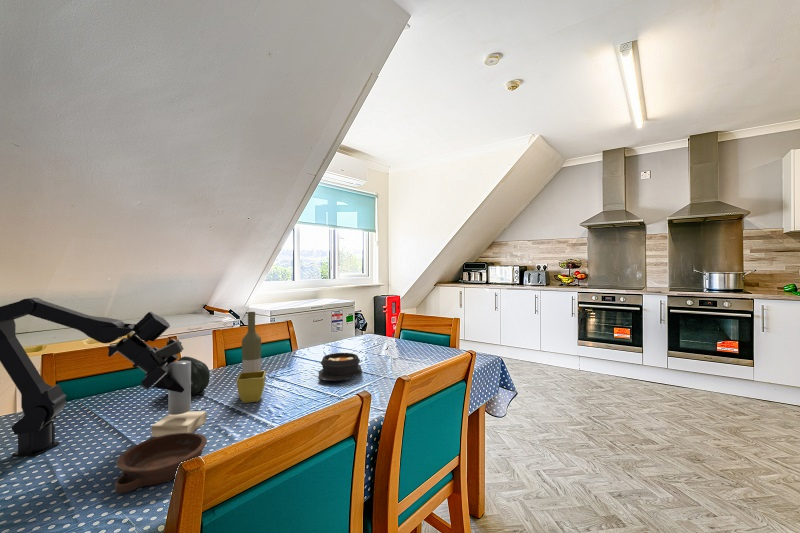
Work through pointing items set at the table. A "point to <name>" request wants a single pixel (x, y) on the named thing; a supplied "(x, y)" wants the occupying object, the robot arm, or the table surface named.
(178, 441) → the dish
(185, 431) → the base block
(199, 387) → the squash
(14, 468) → the table surface
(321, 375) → the casserole
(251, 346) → the bottle
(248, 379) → the flower pot
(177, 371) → the tumbler
